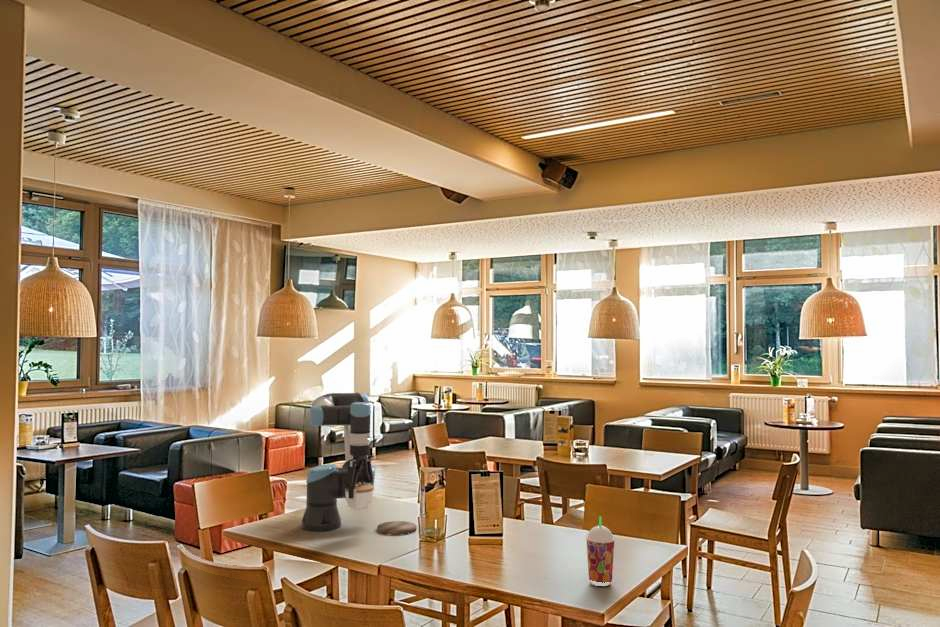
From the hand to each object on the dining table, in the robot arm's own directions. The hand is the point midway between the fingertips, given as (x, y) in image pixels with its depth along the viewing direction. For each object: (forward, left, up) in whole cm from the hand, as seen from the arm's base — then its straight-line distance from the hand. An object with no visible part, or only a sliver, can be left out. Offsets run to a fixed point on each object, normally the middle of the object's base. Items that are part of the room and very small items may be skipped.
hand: (359, 503), depth 269 cm
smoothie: (+93, -24, -12) cm, 97 cm away
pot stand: (+10, +12, -12) cm, 19 cm away
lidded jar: (0, 0, -2) cm, 2 cm away
